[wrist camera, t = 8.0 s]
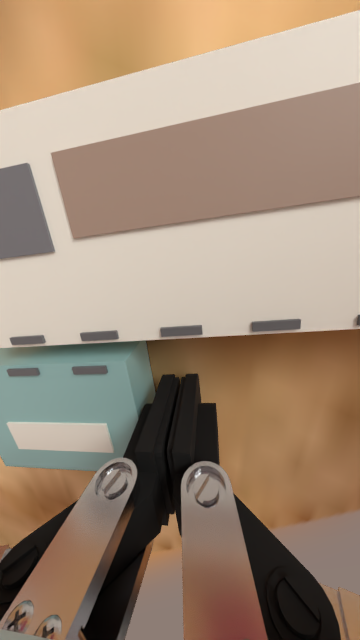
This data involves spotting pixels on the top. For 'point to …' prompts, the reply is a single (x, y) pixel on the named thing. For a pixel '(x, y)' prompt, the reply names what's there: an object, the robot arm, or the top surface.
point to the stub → (71, 403)
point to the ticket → (188, 197)
